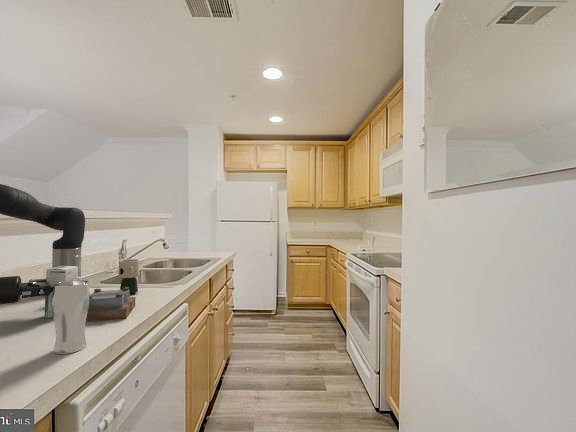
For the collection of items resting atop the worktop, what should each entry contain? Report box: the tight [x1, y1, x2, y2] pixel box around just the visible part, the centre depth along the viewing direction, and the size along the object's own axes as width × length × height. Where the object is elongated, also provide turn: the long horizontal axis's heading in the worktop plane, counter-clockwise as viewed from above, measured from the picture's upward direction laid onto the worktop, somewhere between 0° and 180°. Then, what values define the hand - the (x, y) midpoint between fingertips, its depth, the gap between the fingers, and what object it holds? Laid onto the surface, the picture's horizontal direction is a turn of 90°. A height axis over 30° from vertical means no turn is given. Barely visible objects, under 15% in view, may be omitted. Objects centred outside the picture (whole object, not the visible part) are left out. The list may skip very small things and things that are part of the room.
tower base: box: [86, 287, 136, 323], centre depth 92 cm, size 13×13×7 cm
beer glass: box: [52, 279, 91, 355], centre depth 68 cm, size 7×7×15 cm
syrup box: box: [44, 266, 78, 319], centre depth 90 cm, size 6×6×14 cm
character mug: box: [118, 258, 140, 296], centre depth 115 cm, size 11×7×13 cm, turn 36°
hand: (70, 284), depth 91 cm, fingers closed on syrup box, 7 cm apart
